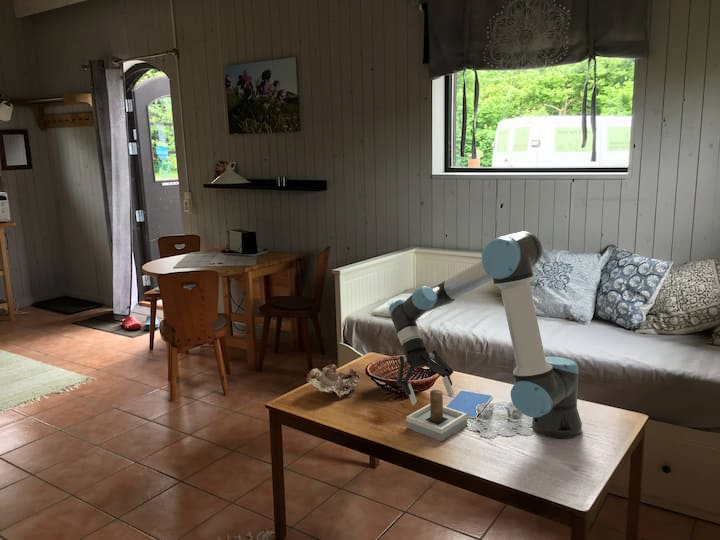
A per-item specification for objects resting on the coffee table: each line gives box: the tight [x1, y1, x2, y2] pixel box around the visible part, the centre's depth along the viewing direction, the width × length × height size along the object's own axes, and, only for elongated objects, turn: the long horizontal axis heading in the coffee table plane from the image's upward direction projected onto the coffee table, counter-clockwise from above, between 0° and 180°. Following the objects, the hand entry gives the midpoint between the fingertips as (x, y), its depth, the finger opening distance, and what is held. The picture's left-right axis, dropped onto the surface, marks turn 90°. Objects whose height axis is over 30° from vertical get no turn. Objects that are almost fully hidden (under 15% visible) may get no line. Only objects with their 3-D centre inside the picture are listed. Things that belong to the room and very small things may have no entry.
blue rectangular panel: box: [445, 390, 494, 419], centre depth 214 cm, size 19×13×1 cm, turn 151°
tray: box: [405, 403, 468, 442], centre depth 198 cm, size 14×14×4 cm
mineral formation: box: [305, 363, 361, 399], centre depth 228 cm, size 22×16×10 cm
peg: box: [429, 389, 444, 425], centre depth 198 cm, size 4×4×12 cm
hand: (433, 399), depth 198 cm, fingers open, 13 cm apart
